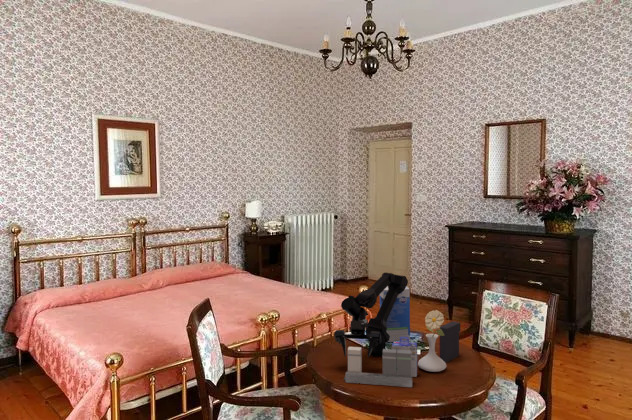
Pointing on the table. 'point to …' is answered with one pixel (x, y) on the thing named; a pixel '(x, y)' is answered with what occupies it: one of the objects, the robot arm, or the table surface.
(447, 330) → the dark grey box
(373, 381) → the rail
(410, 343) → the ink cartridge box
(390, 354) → the block
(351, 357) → the block
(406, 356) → the block
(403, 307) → the string lights box
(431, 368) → the flower in vase
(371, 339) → the robot arm
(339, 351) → the table surface
